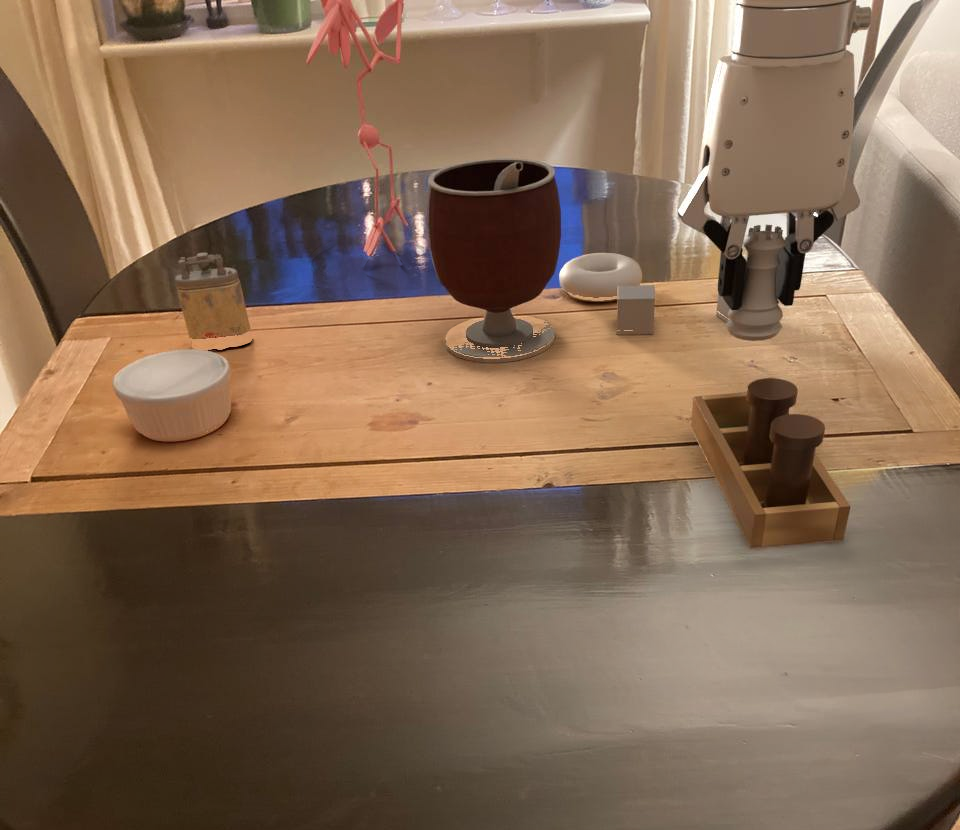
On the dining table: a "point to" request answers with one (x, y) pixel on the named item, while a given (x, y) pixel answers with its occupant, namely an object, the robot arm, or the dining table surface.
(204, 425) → the ramekin
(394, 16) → the figurine
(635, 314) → the grey block
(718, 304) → the grey block
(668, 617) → the dining table surface
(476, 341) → the mate gourd
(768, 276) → the rook chess piece
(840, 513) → the rack
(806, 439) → the walnut rook
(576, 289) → the donut
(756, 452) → the walnut rook
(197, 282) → the lighter
